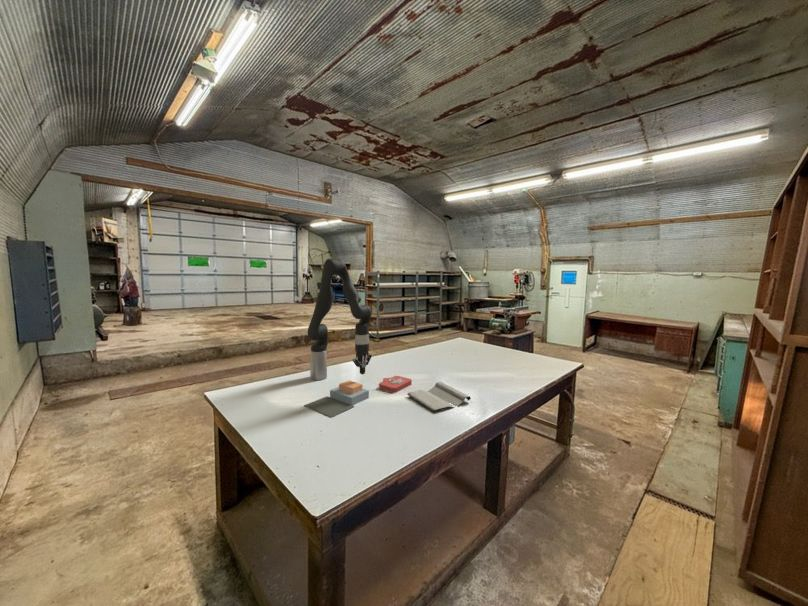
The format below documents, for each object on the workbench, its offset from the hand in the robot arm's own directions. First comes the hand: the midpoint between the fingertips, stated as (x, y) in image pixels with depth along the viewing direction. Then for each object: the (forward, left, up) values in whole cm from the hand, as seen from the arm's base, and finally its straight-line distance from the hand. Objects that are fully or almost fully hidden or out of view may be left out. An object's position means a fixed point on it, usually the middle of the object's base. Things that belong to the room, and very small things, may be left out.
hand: (362, 373), depth 170 cm
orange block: (0, -8, -6) cm, 11 cm away
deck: (0, -9, -10) cm, 14 cm away
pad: (0, -23, -10) cm, 25 cm away
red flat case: (+7, +19, -11) cm, 23 cm away
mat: (+38, +17, -11) cm, 43 cm away
